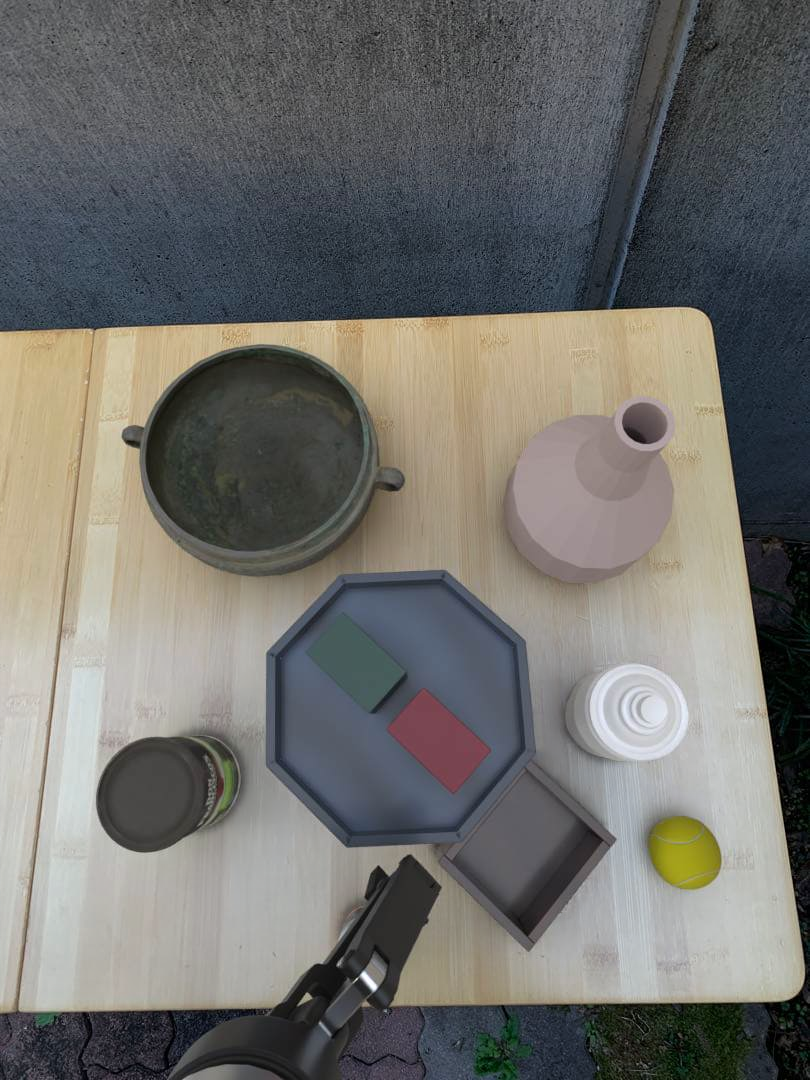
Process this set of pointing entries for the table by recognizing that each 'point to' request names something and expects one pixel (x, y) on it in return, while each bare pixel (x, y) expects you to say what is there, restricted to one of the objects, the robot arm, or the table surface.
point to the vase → (592, 492)
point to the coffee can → (166, 790)
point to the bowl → (260, 460)
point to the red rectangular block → (438, 740)
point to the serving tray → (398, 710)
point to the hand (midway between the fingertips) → (314, 966)
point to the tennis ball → (685, 852)
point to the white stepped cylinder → (627, 713)
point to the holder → (527, 854)
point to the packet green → (357, 664)
